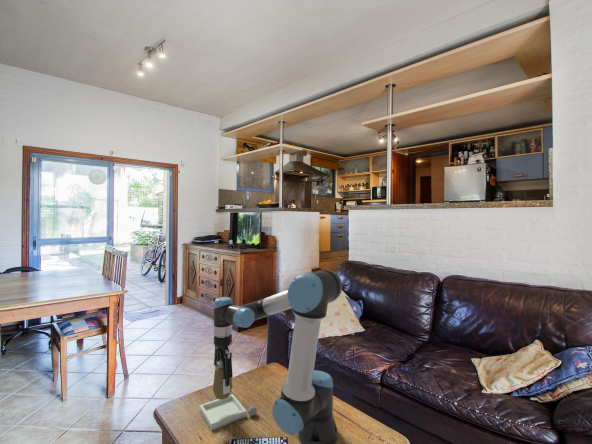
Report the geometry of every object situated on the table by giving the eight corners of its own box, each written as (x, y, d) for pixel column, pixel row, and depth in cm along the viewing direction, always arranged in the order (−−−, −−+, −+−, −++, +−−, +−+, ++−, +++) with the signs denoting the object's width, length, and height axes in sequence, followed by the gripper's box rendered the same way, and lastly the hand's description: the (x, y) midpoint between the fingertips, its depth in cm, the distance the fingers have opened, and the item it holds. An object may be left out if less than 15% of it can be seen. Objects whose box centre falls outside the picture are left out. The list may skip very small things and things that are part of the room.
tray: (246, 416, 125) (246, 410, 125) (211, 430, 117) (211, 424, 117) (232, 399, 138) (232, 394, 138) (199, 411, 129) (199, 405, 129)
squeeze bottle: (229, 401, 123) (229, 357, 123) (210, 401, 123) (210, 357, 124) (234, 390, 131) (234, 349, 132) (215, 390, 132) (216, 349, 132)
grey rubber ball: (258, 415, 126) (258, 407, 126) (250, 419, 124) (250, 410, 124) (254, 411, 129) (254, 403, 129) (246, 414, 127) (246, 405, 127)
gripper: (241, 340, 121) (241, 397, 121) (222, 326, 138) (222, 375, 138) (223, 344, 117) (223, 403, 117) (206, 329, 134) (206, 380, 134)
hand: (222, 388), depth 127 cm, fingers closed on squeeze bottle, 8 cm apart
